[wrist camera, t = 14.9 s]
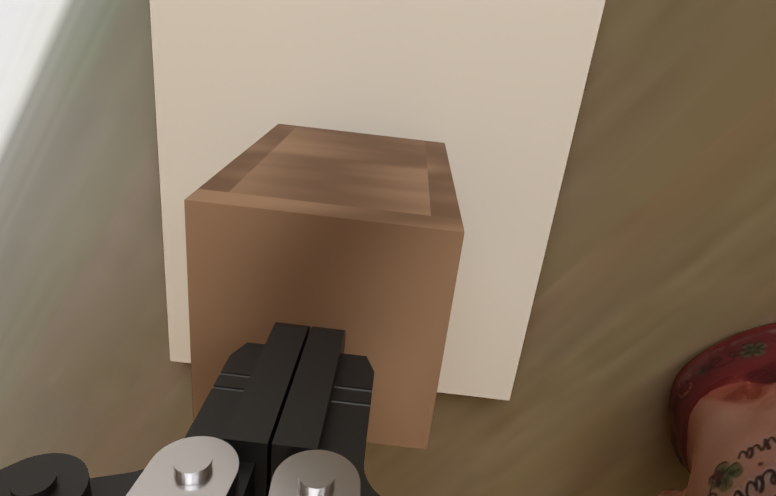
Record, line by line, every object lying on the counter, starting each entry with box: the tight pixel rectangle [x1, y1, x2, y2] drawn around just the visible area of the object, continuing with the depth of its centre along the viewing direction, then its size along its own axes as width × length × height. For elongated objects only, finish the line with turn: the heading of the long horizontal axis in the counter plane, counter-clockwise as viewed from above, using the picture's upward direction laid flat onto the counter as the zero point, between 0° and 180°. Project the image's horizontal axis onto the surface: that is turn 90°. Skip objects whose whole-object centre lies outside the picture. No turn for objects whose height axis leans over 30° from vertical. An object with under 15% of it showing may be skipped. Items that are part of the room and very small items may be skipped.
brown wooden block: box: [184, 124, 465, 450], centre depth 17 cm, size 6×6×9 cm
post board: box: [150, 0, 605, 401], centre depth 19 cm, size 16×18×11 cm
